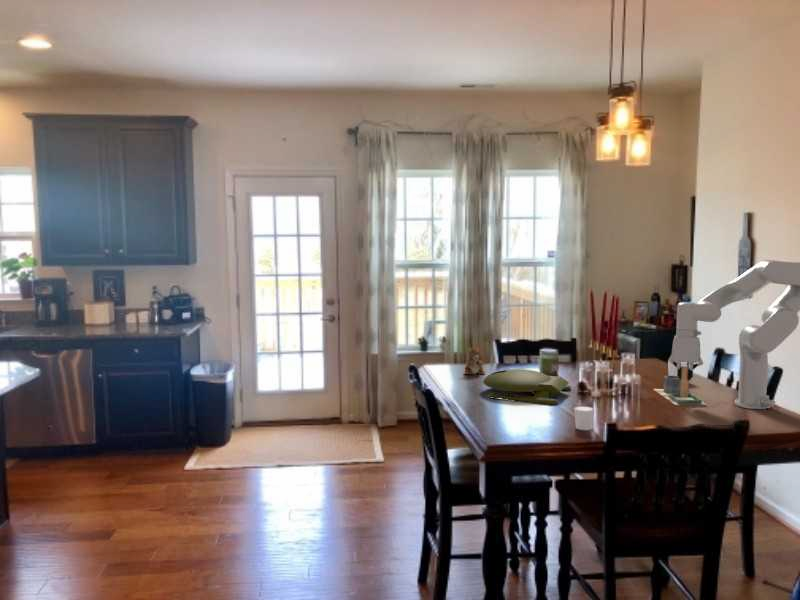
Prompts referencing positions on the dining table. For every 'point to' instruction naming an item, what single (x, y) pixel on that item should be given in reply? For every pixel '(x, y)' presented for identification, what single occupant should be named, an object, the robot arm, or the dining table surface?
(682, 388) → the dowel
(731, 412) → the dining table surface
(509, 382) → the spaceship
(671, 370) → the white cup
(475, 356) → the stuffed squirrel
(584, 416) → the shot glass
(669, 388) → the stand
